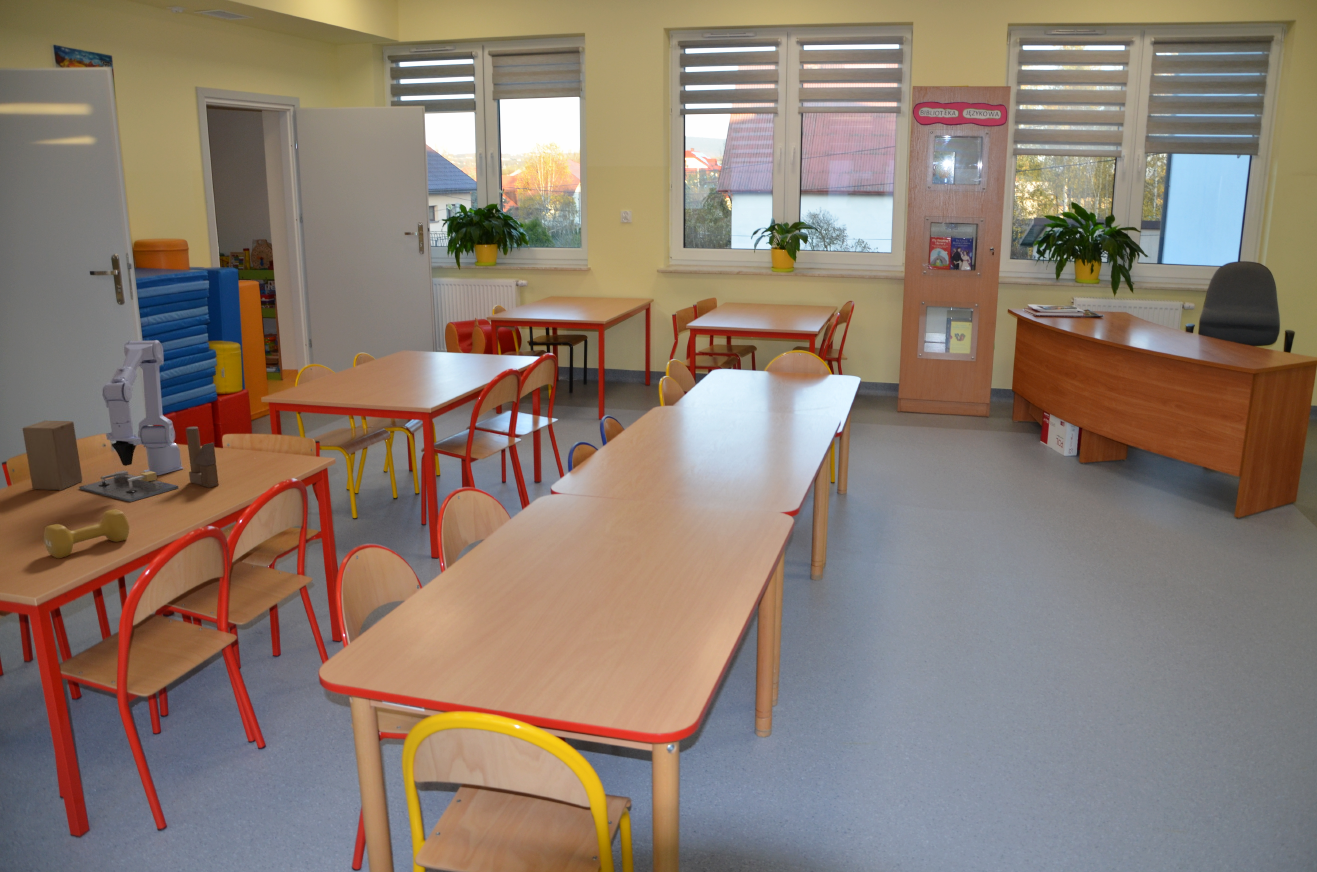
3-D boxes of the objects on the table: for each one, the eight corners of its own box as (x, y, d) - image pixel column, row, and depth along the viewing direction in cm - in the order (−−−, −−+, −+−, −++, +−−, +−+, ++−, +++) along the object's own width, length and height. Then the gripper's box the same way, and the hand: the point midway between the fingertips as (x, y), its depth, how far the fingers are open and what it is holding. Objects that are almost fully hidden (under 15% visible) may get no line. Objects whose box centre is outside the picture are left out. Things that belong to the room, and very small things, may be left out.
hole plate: (128, 476, 316) (126, 466, 315) (178, 488, 304) (177, 477, 303) (79, 489, 303) (77, 478, 302) (129, 502, 290) (128, 490, 289)
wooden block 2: (208, 488, 304) (201, 432, 299) (189, 482, 310) (182, 428, 305) (219, 485, 307) (212, 430, 302) (200, 479, 312) (193, 425, 308)
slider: (151, 483, 304) (150, 471, 303) (157, 484, 303) (155, 472, 302) (127, 489, 297) (125, 477, 296) (133, 491, 296) (131, 478, 295)
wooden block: (83, 481, 311) (74, 420, 306) (61, 490, 301) (51, 428, 296) (54, 480, 312) (44, 420, 307) (31, 489, 302) (21, 427, 297)
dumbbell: (118, 534, 264) (114, 505, 262) (134, 541, 259) (130, 512, 257) (42, 554, 249) (37, 524, 247) (58, 562, 244) (53, 531, 242)
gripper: (94, 421, 292) (100, 464, 295) (123, 427, 285) (129, 471, 288) (116, 416, 298) (122, 459, 301) (145, 422, 291) (151, 465, 294)
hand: (127, 464), depth 295 cm, fingers closed
